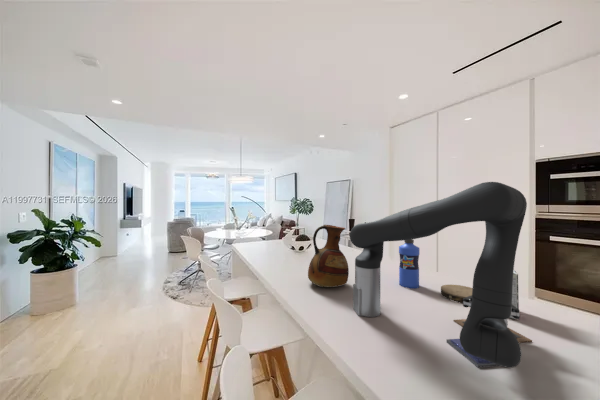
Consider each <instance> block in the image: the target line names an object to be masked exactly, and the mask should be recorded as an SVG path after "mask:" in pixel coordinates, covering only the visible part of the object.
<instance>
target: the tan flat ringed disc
mask: <svg viewBox="0 0 600 400" xmlns="http://www.w3.org/2000/svg"><path fill="white" fill-rule="evenodd" d="M472 289H473V287H470V286H465V285H461V284H442V285H441V286H440V295H441V296H442V297H443V298H445V299H447V300H449V301H453V302H456V303H459V302H460V303H461V304H463V298H465V297H468V296H471V295H472Z"/></svg>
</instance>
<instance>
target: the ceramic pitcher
mask: <svg viewBox="0 0 600 400" xmlns="http://www.w3.org/2000/svg"><path fill="white" fill-rule="evenodd" d="M320 230H325V231H326V233H327V237H326V241H325V245H324V246H323V247H322V248H318V246H317V239H316V238H317V234H318V233H319V231H320ZM344 230H346V228H345V227H343V226H341V227H340V226H336V225H333V224H332V225H331V224H327V223H326V224H323V225H321V226H319V227H317V228H316V230H315V231H314V234H313V235H312V236H313V237H312V241H313V247H314V255H313V257H312V258H311V260H310V262H309V265H308V268H307V269H308V270H307V278H308V279H309V281H310V282H311V283H312V284H314V285H315V286H318V287H321V288H335V287H340V286H344V285H346V284H347V282H348V280H349V273H350V271H349V264H348V260H347V258H346V256H345V255H344V253H343V252H342V251H341V249H340V245H339V244H340V241H341V234H342V233H343V232H344Z"/></svg>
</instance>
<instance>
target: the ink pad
mask: <svg viewBox="0 0 600 400" xmlns="http://www.w3.org/2000/svg"><path fill="white" fill-rule="evenodd" d="M446 343H447V344H448V345H449V346H450V347H452V348H453V349H454V350H455V351H456V352H458V353H459V354H460V355H462V356H463V357H464V358H465V359H467V360H468V361H469V362H470V363H471V364H472V365H474V366H475V367H476V368H490V367H492V368H493V367H502V366H501V365H498V364H496V363H492V362H490V361H487V360H484V359H482V358H479V357H476V356H473V355H471V354H469V353H467V352H466V351H465V350H464V349H463V347H462V345H461V343H460V338H449V339H446Z"/></svg>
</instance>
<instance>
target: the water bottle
mask: <svg viewBox="0 0 600 400" xmlns="http://www.w3.org/2000/svg"><path fill="white" fill-rule="evenodd" d="M414 240H415V239H411V240H403V241H404V244H402V245H400V246H398V255H399V267H398V269H399V271H398V272H399V273H398V276H399V279H398V282H399V283H398V284H399V286H400V287H402V288H405V289H410V290H412V289H413V290H414V289H419V288H420V266H419V260H420V247H419V246H417V245H415V244H414V242H415V241H414Z"/></svg>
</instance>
